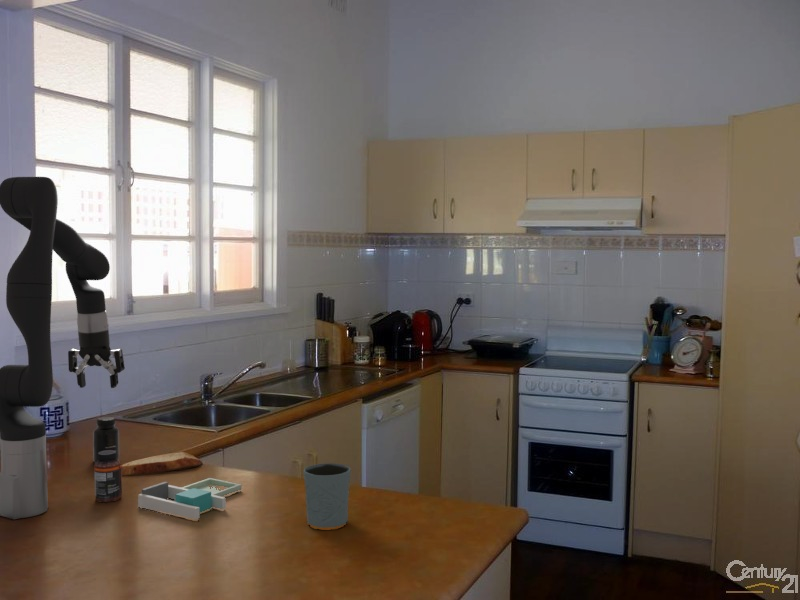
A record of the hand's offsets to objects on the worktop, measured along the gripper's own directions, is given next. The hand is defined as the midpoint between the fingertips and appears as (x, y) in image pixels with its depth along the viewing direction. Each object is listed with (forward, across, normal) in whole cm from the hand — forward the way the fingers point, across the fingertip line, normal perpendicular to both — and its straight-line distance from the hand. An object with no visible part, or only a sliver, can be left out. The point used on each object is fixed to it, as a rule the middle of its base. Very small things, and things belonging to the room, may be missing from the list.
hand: (98, 387), depth 211 cm
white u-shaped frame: (+18, +33, -34) cm, 51 cm away
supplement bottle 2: (+19, +14, -28) cm, 36 cm away
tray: (+19, +36, -23) cm, 47 cm away
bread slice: (+23, +16, -2) cm, 28 cm away
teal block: (+18, +36, -36) cm, 54 cm away
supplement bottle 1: (+23, -2, +4) cm, 24 cm away
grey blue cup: (+17, +68, -41) cm, 81 cm away
